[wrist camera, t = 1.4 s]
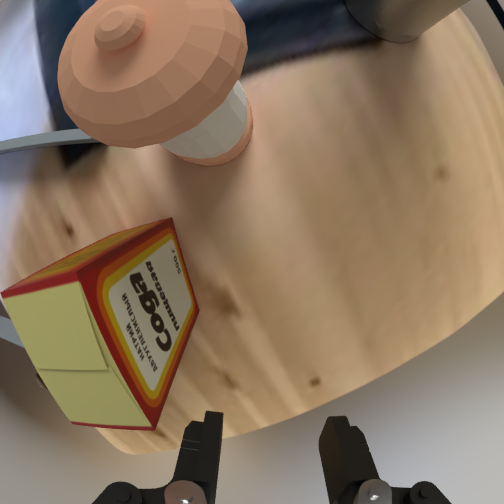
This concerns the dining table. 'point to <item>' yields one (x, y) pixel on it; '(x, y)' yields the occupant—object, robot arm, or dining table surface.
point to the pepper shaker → (159, 77)
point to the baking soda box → (109, 326)
